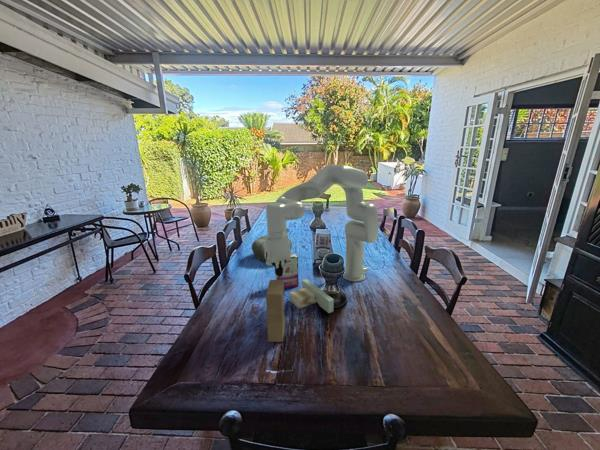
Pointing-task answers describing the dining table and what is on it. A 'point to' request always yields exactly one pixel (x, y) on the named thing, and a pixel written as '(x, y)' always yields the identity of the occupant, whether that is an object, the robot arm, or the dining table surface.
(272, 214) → the robot arm
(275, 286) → the decorative block
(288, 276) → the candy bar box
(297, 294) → the ash block
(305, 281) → the sage board
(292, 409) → the dining table surface
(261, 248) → the gourd
